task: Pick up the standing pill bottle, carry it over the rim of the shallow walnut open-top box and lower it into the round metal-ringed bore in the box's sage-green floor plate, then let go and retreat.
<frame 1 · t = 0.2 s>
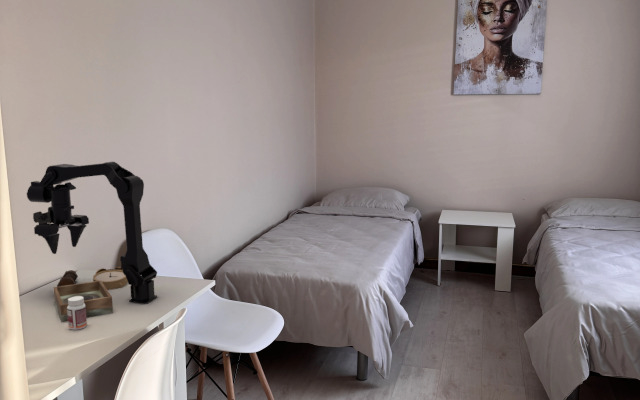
hand: (64, 250, 175), 14 cm above the table, fingers open, 9 cm apart
brown tall rounded piece: (69, 286, 184), on the table
alarm clock: (111, 284, 188), on the table
pill bottle: (77, 327, 150), on the table
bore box: (83, 307, 164), on the table
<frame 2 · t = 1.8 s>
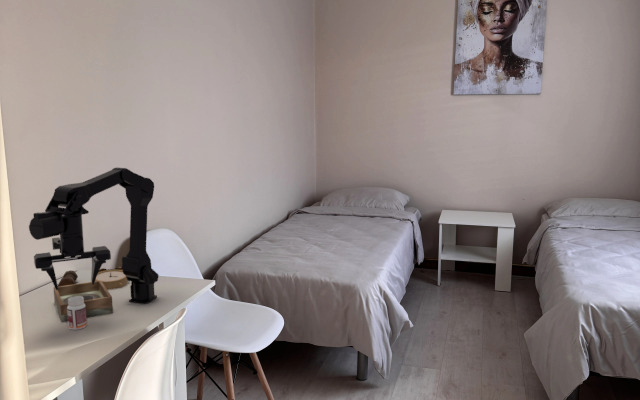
hand: (75, 286, 148), 12 cm above the table, fingers open, 9 cm apart
nothing on the table moved.
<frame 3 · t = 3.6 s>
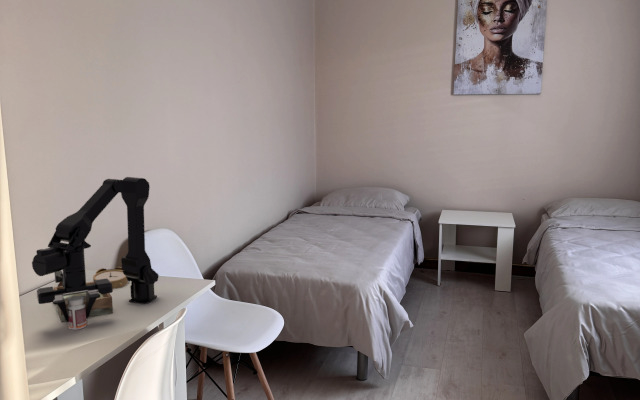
hand: (77, 319, 149), 2 cm above the table, fingers closed on pill bottle, 5 cm apart
pill bottle: (77, 327, 150), on the table, touching gripper
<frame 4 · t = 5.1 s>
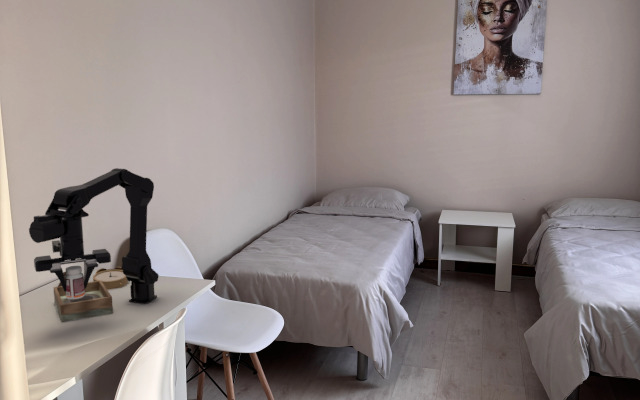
hand: (75, 289, 148), 11 cm above the table, fingers closed on pill bottle, 5 cm apart
pill bottle: (75, 297, 148), point 9 cm above the table, touching gripper
everything else where it was.
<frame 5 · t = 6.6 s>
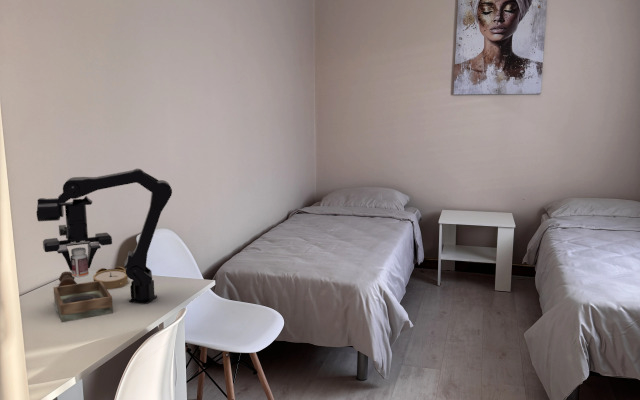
hand: (79, 269, 164), 12 cm above the table, fingers closed on pill bottle, 5 cm apart
pill bottle: (80, 276, 164), point 10 cm above the table, touching gripper
when the fingers open (3 cm above the table, at t = 9.0 s): pill bottle drops 1 cm, resting in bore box.
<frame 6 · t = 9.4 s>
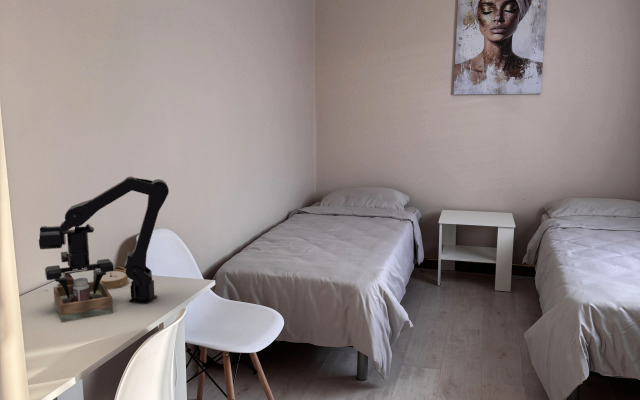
hand: (81, 295, 165), 3 cm above the table, fingers open, 7 cm apart
pill bottle: (82, 306, 166), resting in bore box
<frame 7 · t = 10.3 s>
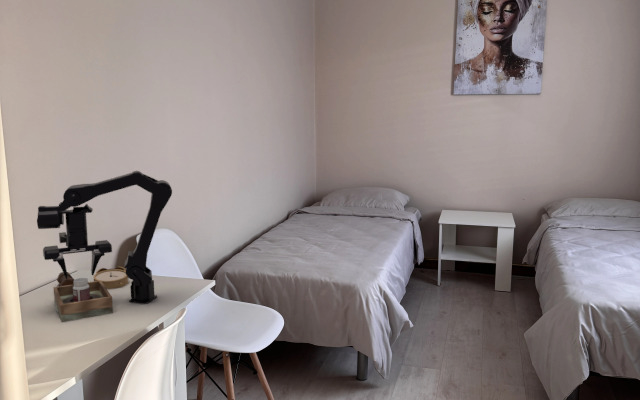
hand: (79, 276, 164), 9 cm above the table, fingers open, 7 cm apart
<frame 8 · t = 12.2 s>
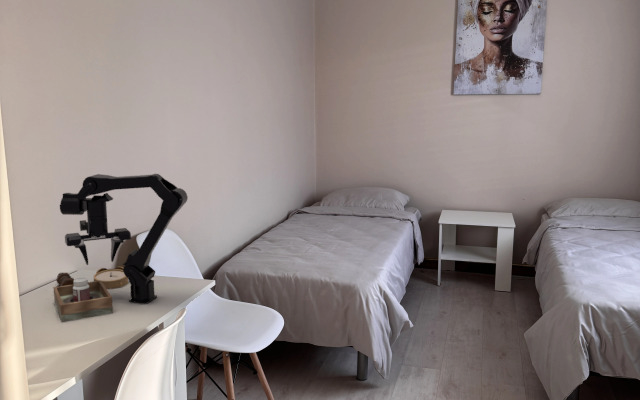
hand: (99, 263, 169), 12 cm above the table, fingers open, 7 cm apart
at the end: pill bottle 0.1 cm from the target spot on the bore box, point 0.0 cm above the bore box's base; pill bottle tilted 0°; the gripper is holding nothing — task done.
